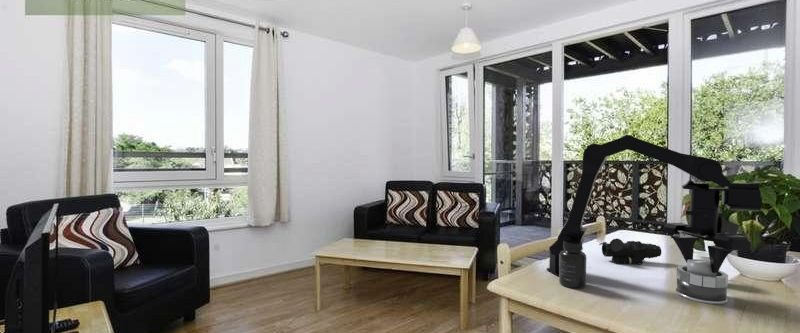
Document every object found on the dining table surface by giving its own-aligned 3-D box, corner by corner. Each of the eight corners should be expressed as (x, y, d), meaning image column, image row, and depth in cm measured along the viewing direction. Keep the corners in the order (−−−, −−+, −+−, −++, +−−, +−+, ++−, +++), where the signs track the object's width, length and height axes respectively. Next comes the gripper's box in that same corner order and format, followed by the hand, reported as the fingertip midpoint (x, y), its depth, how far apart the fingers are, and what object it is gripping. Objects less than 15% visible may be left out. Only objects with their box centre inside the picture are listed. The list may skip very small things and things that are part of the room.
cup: (686, 280, 109) (687, 252, 109) (699, 274, 115) (700, 248, 114) (716, 288, 103) (717, 258, 103) (729, 281, 109) (730, 253, 109)
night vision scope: (657, 269, 127) (671, 257, 119) (601, 268, 129) (611, 255, 122) (649, 247, 132) (662, 234, 124) (595, 246, 134) (604, 233, 126)
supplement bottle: (564, 278, 110) (565, 237, 109) (589, 285, 105) (590, 242, 104) (554, 284, 105) (555, 241, 104) (580, 291, 100) (581, 246, 100)
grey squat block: (703, 282, 94) (703, 265, 94) (680, 275, 99) (681, 259, 99) (723, 281, 95) (723, 264, 95) (700, 273, 101) (700, 258, 100)
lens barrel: (702, 305, 91) (703, 278, 91) (665, 289, 102) (666, 265, 101) (739, 303, 93) (740, 277, 93) (699, 288, 103) (700, 264, 103)
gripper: (772, 213, 88) (768, 279, 89) (698, 202, 107) (695, 257, 107) (731, 213, 87) (727, 281, 87) (662, 202, 105) (660, 258, 106)
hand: (701, 268), depth 97 cm, fingers open, 7 cm apart
